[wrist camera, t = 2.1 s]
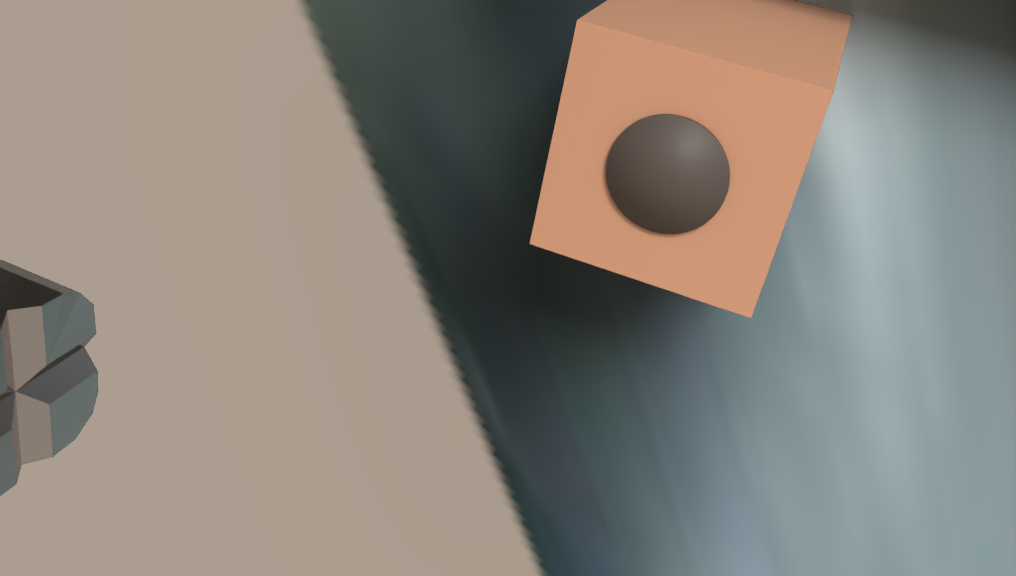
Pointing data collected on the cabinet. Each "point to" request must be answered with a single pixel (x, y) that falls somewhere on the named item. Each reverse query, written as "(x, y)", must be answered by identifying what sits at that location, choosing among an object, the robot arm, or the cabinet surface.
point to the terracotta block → (687, 139)
